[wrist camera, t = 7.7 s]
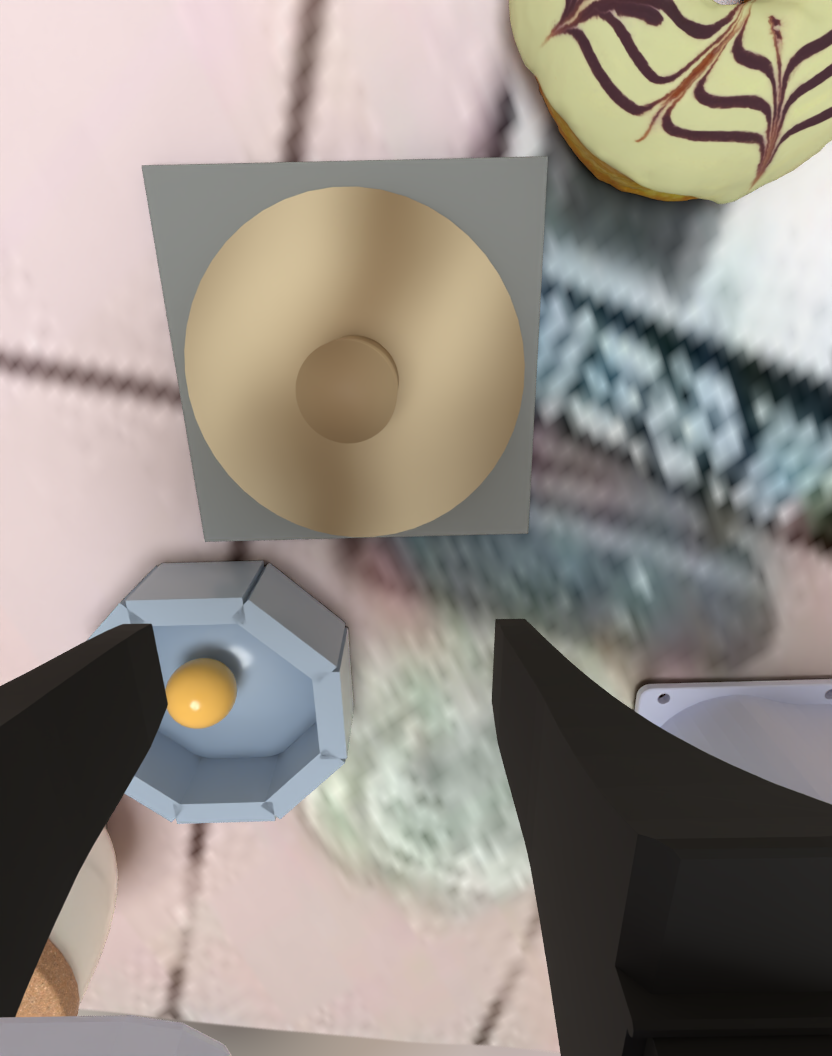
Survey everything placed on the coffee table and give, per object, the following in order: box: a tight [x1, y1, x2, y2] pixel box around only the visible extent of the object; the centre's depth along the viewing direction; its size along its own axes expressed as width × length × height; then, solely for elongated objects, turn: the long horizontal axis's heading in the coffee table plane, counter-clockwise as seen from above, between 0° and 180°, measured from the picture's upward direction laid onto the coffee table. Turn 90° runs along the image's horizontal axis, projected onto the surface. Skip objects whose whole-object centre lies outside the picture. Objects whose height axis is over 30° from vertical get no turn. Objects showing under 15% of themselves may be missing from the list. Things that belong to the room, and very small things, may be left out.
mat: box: [142, 156, 548, 542], centre depth 19 cm, size 12×12×1 cm
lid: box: [184, 187, 525, 537], centre depth 17 cm, size 11×11×4 cm
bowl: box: [88, 561, 354, 824], centre depth 22 cm, size 10×10×3 cm
